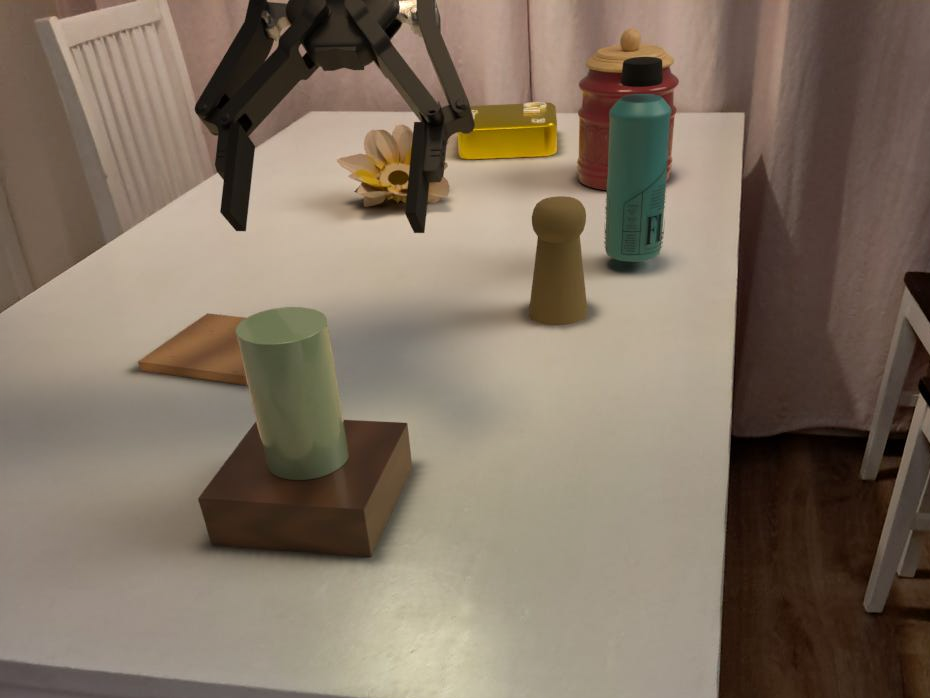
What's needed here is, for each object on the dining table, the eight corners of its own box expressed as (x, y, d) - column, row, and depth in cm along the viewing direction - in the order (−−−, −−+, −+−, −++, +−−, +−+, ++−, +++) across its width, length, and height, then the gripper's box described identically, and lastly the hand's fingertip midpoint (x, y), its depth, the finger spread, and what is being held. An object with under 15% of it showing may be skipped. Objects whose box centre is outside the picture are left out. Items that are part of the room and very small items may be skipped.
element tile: (463, 135, 150) (461, 102, 147) (555, 131, 150) (555, 98, 146) (457, 161, 139) (455, 125, 136) (557, 156, 138) (557, 121, 135)
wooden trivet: (140, 371, 89) (137, 361, 88) (209, 322, 97) (207, 312, 97) (247, 386, 85) (244, 375, 85) (309, 333, 94) (307, 324, 93)
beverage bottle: (647, 279, 100) (662, 66, 87) (591, 270, 103) (598, 62, 90) (670, 260, 104) (688, 53, 91) (617, 251, 107) (626, 50, 94)
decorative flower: (332, 209, 118) (328, 119, 114) (342, 204, 128) (338, 122, 124) (449, 211, 119) (449, 122, 114) (449, 207, 129) (450, 125, 124)
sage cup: (250, 473, 66) (217, 338, 59) (292, 433, 70) (265, 303, 63) (324, 486, 64) (299, 348, 57) (362, 444, 68) (343, 311, 62)
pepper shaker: (590, 324, 92) (594, 207, 85) (530, 326, 92) (528, 211, 85) (584, 300, 97) (588, 188, 89) (527, 303, 97) (525, 191, 89)
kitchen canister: (572, 193, 125) (574, 39, 113) (581, 166, 134) (584, 21, 122) (669, 193, 122) (682, 36, 111) (672, 165, 132) (684, 18, 120)
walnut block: (211, 545, 66) (197, 498, 64) (270, 459, 75) (260, 415, 72) (371, 557, 64) (363, 509, 62) (412, 468, 73) (407, 422, 70)
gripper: (528, -29, 68) (502, 250, 67) (215, -17, 72) (185, 246, 71) (516, -117, 61) (485, 194, 60) (167, -98, 65) (133, 193, 64)
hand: (322, 223), depth 66 cm, fingers open, 13 cm apart
